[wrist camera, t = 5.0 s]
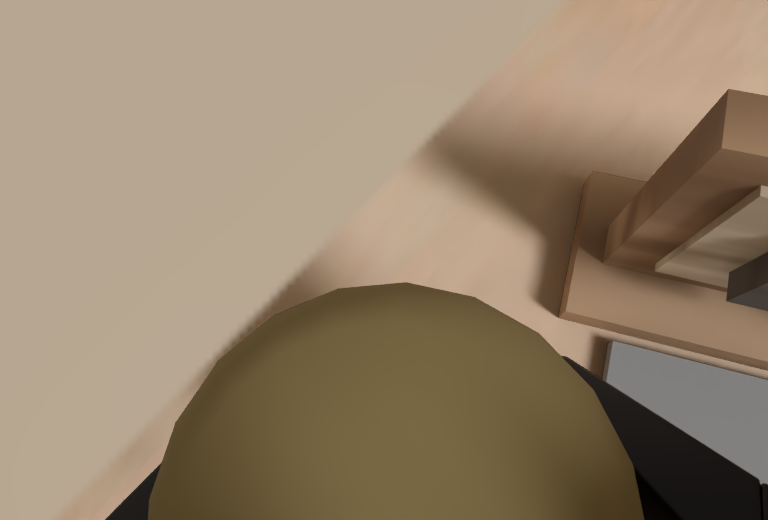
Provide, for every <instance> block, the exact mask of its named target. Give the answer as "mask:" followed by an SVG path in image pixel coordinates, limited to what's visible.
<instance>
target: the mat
mask: <svg viewBox="0 0 768 520" xmlns="http://www.w3.org/2000/svg"><path fill="white" fill-rule="evenodd" d="M602 379H603V380H604V381H606V382H607V383H609V384H610V385H612V386H614V387H615V388H617V389H618V390H620V391H621V392H623V393H625V394H626V395H628V396H629V397H631V398H632V399H634V400H636V401H637V402H639V403H640V404H642V405H643V406H645V407H647V408H648V409H650V410H651V411H653V412H654V413H656V414H658V415H659V416H661V417H662V418H664V419H665V420H667V421H669V422H670V423H672V424H673V425H675V426H676V427H678V428H679V429H681V430H683V431H684V432H686V433H687V434H689V435H690V436H692V437H694V438H695V439H697V440H698V441H700V442H701V443H703V444H705V445H706V446H708V447H709V448H711V449H712V450H714V451H716V452H717V453H719V454H720V455H722V456H723V457H725V458H727V459H728V460H730V461H731V462H733V463H734V464H736V465H738V466H739V467H741V468H742V469H744V470H745V471H747V472H749V473H750V474H752V475H753V476H755V477H756V478H758V479H759V480H760V484H763V483H766V484H768V380H766V379H762V378H758V377H754V376H750V375H746V374H742V373H738V372H734V371H730V370H726V369H722V368H718V367H715V366H711V365H707V364H703V363H699V362H695V361H691V360H687V359H683V358H679V357H675V356H671V355H667V354H664V353H660V352H656V351H652V350H648V349H644V348H640V347H636V346H632V345H628V344H624V343H620V342H616V341H611V342H609V343H608V347H607V353H606V359H605V365H604V371H603V377H602Z"/></svg>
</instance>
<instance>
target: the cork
mask: <svg viewBox="0 0 768 520" xmlns="http://www.w3.org/2000/svg"><path fill="white" fill-rule="evenodd" d="M148 520H644V515H643V511H642V506H641V501H640V496H639V491H638V486H637V481H636V476H635V472H634V467H633V464H632V462H631V460H630V458H629V456H628V454H627V452H626V450H625V448H624V447H623V445H622V443H621V441H620V439H619V437H618V435H617V433H616V431H615V429H614V428H613V426H612V424H611V422H610V420H609V418H608V416H607V414H606V412H605V411H604V409H603V407H602V405H601V403H600V401H599V399H598V397H597V395H596V393H595V392H594V390H593V389H592V388H591V387H590V386H589V385H588V384H587V382H586V381H585V380H584V379H583V378H582V377H581V376H580V375H579V374H578V373H577V372H576V371H575V370H574V369H573V368H572V367H571V366H570V365H569V364H568V363H567V362H566V361H565V360H564V359H563V358H562V357H561V356H560V355H559V354H558V353H557V351H556V350H555V349H554V348H553V347H552V346H551V345H550V344H549V343H548V342H547V341H546V340H545V339H544V338H543V337H542V336H541V335H540V334H539V333H538V332H536V331H534V330H532V329H530V328H529V327H527V326H525V325H523V324H522V323H520V322H518V321H516V320H514V319H513V318H511V317H509V316H507V315H505V314H504V313H502V312H500V311H498V310H497V309H495V308H493V307H491V306H489V305H488V304H486V303H484V302H482V301H480V300H479V299H477V298H475V297H471V296H467V295H462V294H457V293H453V292H448V291H443V290H439V289H434V288H429V287H425V286H420V285H416V284H411V283H395V284H384V285H373V286H362V287H351V288H340V289H336V290H334V291H331V292H329V293H326V294H324V295H322V296H319V297H317V298H314V299H312V300H310V301H307V302H305V303H302V304H300V305H297V306H295V307H293V308H290V309H288V310H285V311H283V312H280V313H278V314H276V315H274V316H272V317H271V318H270V319H269V320H268V321H266V322H265V323H264V324H263V325H261V326H260V327H259V328H258V329H257V330H255V331H254V332H253V333H252V334H250V335H249V336H248V337H247V338H246V339H244V340H243V341H242V342H241V343H239V344H238V345H237V346H236V347H234V348H233V349H232V350H231V351H230V352H228V353H227V354H226V355H225V356H223V357H222V358H221V359H220V360H219V361H218V362H217V364H216V365H215V366H214V368H213V369H212V371H211V372H210V374H209V375H208V377H207V378H206V379H205V381H204V382H203V384H202V385H201V387H200V388H199V390H198V391H197V392H196V394H195V395H194V397H193V398H192V400H191V401H190V403H189V404H188V405H187V407H186V408H185V410H184V411H183V413H182V414H181V416H180V417H179V419H178V420H177V421H176V423H175V426H174V429H173V432H172V435H171V437H170V440H169V443H168V446H167V449H166V452H165V455H164V458H163V461H162V464H161V466H160V469H159V472H158V475H157V478H156V481H155V484H154V487H153V490H152V493H151V495H150V498H149V511H148Z"/></svg>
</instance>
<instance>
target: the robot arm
mask: <svg viewBox="0 0 768 520" xmlns="http://www.w3.org/2000/svg"><path fill="white" fill-rule="evenodd" d="M561 357H562V358H563V359H564V360H565V361H566V362H567V363H568V364H569V365H570V366H571V367H572V368H573V369H574V370H575V371H576V372H577V373H578V374H579V375H580V376H581V377H582V378H583V379H584V380H585V381H586V382H587V384H588V385H589V386H590V387H591V388H592V389H593V390H594V392H595V393H596V395H597V397H598V399H599V401H600V403H601V405H602V407H603V409H604V411H605V412H606V414H607V416H608V418H609V420H610V422H611V424H612V426H613V428H614V429H615V431H616V433H617V435H618V437H619V439H620V441H621V443H622V445H623V447H624V448H625V450H626V452H627V454H628V456H629V458H630V460H631V462H632V464H633V467H634V472H635V476H636V481H637V486H638V491H639V496H640V501H641V506H642V511H643V515H644V520H768V484H766V483H763V484H760V480H759V479H758V478H756V477H755V476H753V475H752V474H750V473H749V472H747V471H745V470H744V469H742V468H741V467H739V466H738V465H736V464H734V463H733V462H731V461H730V460H728V459H727V458H725V457H723V456H722V455H720V454H719V453H717V452H716V451H714V450H712V449H711V448H709V447H708V446H706V445H705V444H703V443H701V442H700V441H698V440H697V439H695V438H694V437H692V436H690V435H689V434H687V433H686V432H684V431H683V430H681V429H679V428H678V427H676V426H675V425H673V424H672V423H670V422H669V421H667V420H665V419H664V418H662V417H661V416H659V415H658V414H656V413H654V412H653V411H651V410H650V409H648V408H647V407H645V406H643V405H642V404H640V403H639V402H637V401H636V400H634V399H632V398H631V397H629V396H628V395H626V394H625V393H623V392H621V391H620V390H618V389H617V388H615V387H614V386H612V385H610V384H609V383H607V382H606V381H604V380H603V379H601V378H599V377H598V376H596V375H595V374H593V373H592V372H590V371H588V370H587V369H585V368H584V367H582V366H581V365H579V364H577V363H576V362H574V361H573V360H571V359H570V358H568V357H566V356H561ZM161 464H162V463H161ZM161 464H160V465H159V466H158V467H157V468H156V469H155V470H154V471H153V472H152V473H151V474H150V475H149V476H148V477H147V478H146V479H145V480H144V481H143V482H142V483H141V484H140V485H139V486H138V487H137V488H136V489H135V490H134V491H133V492H132V493H131V494H130V495H129V496H128V497H127V498H126V499H125V500H124V501H123V502H122V503H121V504H120V505H119V506H118V507H117V508H116V509H115V510H114V511H113V512H112V513H111V514H110V515H109V516H108V517H107V518H106V519H105V520H148V511H149V498H150V495H151V493H152V490H153V487H154V484H155V481H156V478H157V475H158V472H159V469H160V466H161Z"/></svg>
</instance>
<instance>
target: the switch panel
mask: <svg viewBox="0 0 768 520" xmlns="http://www.w3.org/2000/svg"><path fill="white" fill-rule="evenodd" d="M558 318H561V319H565V320H569V321H573V322H577V323H581V324H585V325H589V326H593V327H597V328H601V329H605V330H609V331H613V332H617V333H621V334H625V335H629V336H633V337H637V338H641V339H645V340H649V341H653V342H657V343H661V344H665V345H668V346H672V347H676V348H680V349H684V350H688V351H692V352H696V353H700V354H704V355H708V356H712V357H716V358H720V359H724V360H728V361H732V362H736V363H740V364H744V365H748V366H752V367H756V368H760V369H764V370H768V96H765V95H759V94H754V93H748V92H742V91H737V90H731V89H728V90H727V91H726V93H725V94H724V95H723V96H722V97H721V98H720V99H719V101H718V102H717V103H716V104H715V105H714V106H713V107H712V109H711V110H710V111H709V112H708V113H707V114H706V115H705V117H704V118H703V119H702V120H701V121H700V122H699V123H698V125H697V126H696V127H695V128H694V129H693V130H692V131H691V133H690V134H689V135H688V136H687V137H686V138H685V139H684V141H683V142H682V143H681V144H680V145H679V146H678V147H677V149H676V150H675V151H674V152H673V153H672V154H671V155H670V157H669V158H668V159H667V160H666V161H665V162H664V163H663V165H662V166H661V167H660V168H659V169H658V170H657V171H656V173H655V174H654V175H653V176H652V177H651V178H650V179H649V181H648V182H643V181H639V180H634V179H629V178H624V177H619V176H614V175H610V174H605V173H600V172H595V171H592V173H591V174H590V176H589V177H588V179H587V180H586V182H585V184H584V188H583V193H582V199H581V204H580V209H579V214H578V219H577V224H576V229H575V235H574V240H573V245H572V250H571V255H570V260H569V266H568V271H567V276H566V281H565V286H564V291H563V296H562V302H561V307H560V312H559V317H558Z"/></svg>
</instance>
